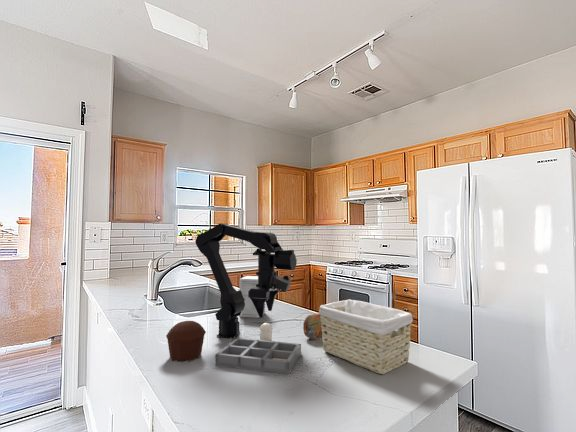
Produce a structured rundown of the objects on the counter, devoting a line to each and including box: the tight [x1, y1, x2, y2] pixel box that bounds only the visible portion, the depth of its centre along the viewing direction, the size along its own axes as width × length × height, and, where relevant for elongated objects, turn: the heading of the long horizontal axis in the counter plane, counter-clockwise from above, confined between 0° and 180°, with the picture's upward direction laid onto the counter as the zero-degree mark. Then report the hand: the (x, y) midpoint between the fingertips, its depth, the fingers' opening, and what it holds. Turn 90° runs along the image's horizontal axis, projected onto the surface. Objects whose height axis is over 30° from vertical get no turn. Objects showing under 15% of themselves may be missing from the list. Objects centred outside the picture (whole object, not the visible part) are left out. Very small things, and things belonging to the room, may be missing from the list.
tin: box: [302, 312, 322, 341], centre depth 116 cm, size 15×3×8 cm, turn 132°
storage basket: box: [318, 298, 414, 375], centre depth 97 cm, size 24×16×15 cm
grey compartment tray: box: [214, 337, 302, 375], centre depth 95 cm, size 21×15×3 cm
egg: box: [259, 322, 273, 341], centre depth 111 cm, size 4×4×6 cm
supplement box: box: [239, 275, 266, 319], centre depth 145 cm, size 10×9×17 cm
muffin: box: [166, 320, 207, 363], centre depth 97 cm, size 12×11×10 cm
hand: (265, 314), depth 111 cm, fingers open, 9 cm apart
